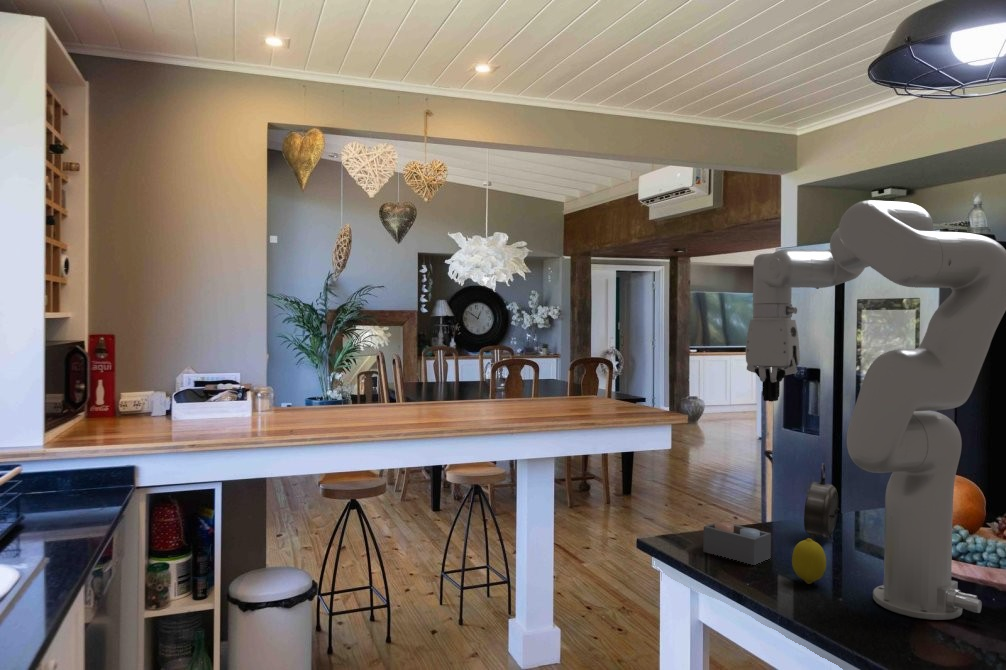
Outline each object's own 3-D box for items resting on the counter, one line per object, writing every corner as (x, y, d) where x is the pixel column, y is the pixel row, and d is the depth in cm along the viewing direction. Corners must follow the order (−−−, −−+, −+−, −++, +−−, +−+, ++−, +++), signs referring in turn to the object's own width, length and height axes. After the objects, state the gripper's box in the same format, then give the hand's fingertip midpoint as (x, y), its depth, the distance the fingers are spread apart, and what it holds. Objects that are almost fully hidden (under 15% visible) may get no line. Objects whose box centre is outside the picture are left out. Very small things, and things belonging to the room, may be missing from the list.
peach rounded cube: (737, 544, 145) (737, 524, 145) (727, 548, 143) (727, 528, 143) (721, 540, 148) (721, 520, 148) (710, 544, 145) (711, 524, 145)
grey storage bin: (770, 559, 141) (771, 533, 141) (754, 566, 137) (754, 539, 137) (720, 545, 149) (720, 521, 149) (703, 551, 145) (703, 526, 145)
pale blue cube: (763, 551, 141) (763, 530, 141) (753, 555, 138) (753, 534, 138) (746, 547, 144) (746, 526, 143) (736, 550, 141) (736, 530, 141)
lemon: (829, 590, 125) (830, 544, 125) (794, 588, 126) (795, 542, 126) (821, 579, 130) (822, 534, 130) (788, 577, 131) (789, 532, 131)
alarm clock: (814, 532, 159) (815, 457, 158) (841, 536, 156) (842, 460, 155) (801, 545, 150) (802, 466, 149) (830, 550, 147) (831, 469, 146)
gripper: (815, 313, 150) (814, 402, 150) (749, 313, 161) (748, 396, 161) (797, 312, 145) (796, 405, 145) (730, 313, 156) (729, 398, 157)
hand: (770, 400), depth 153 cm, fingers closed
